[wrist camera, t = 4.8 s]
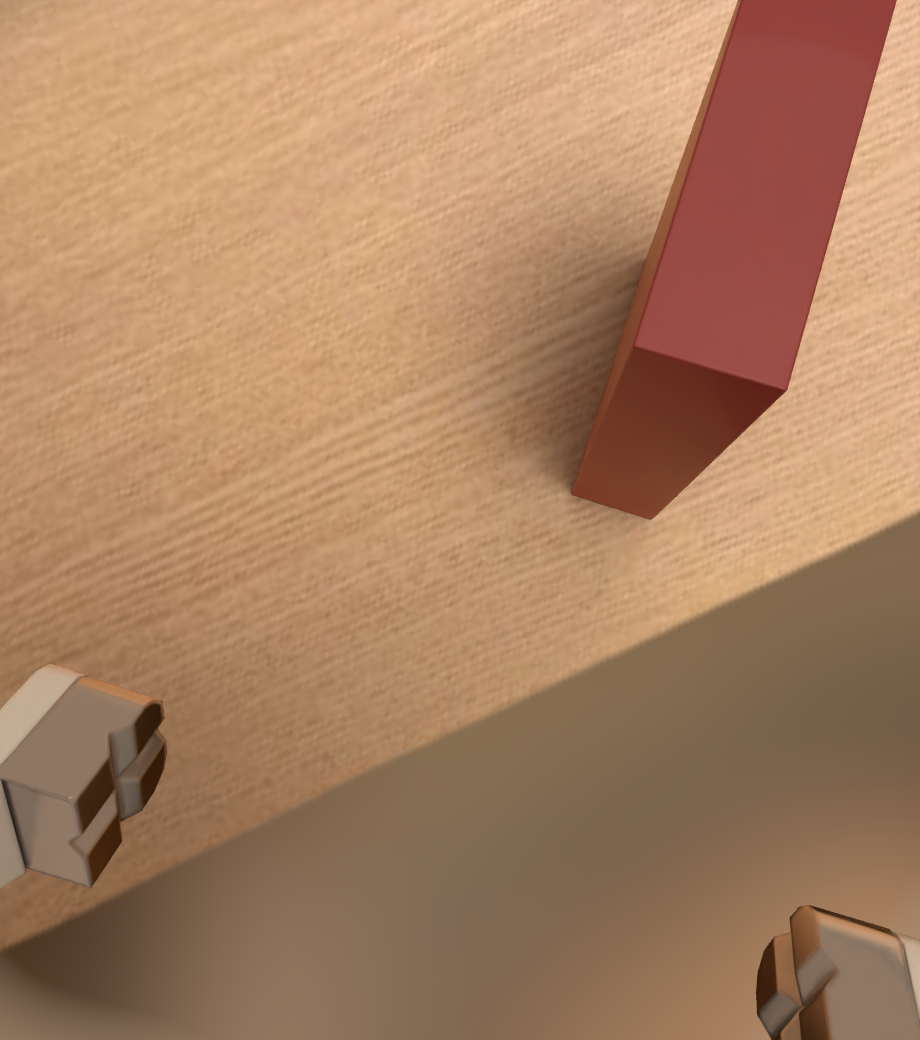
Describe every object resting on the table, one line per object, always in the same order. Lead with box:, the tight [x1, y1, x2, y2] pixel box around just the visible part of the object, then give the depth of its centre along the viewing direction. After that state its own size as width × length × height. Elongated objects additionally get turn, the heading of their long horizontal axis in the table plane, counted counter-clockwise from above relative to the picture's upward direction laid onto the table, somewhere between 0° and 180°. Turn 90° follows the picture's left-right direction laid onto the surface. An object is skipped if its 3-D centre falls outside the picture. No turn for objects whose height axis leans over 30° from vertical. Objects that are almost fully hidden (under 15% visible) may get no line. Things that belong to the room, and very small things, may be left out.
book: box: [572, 0, 897, 519], centre depth 21 cm, size 9×3×13 cm, turn 161°
